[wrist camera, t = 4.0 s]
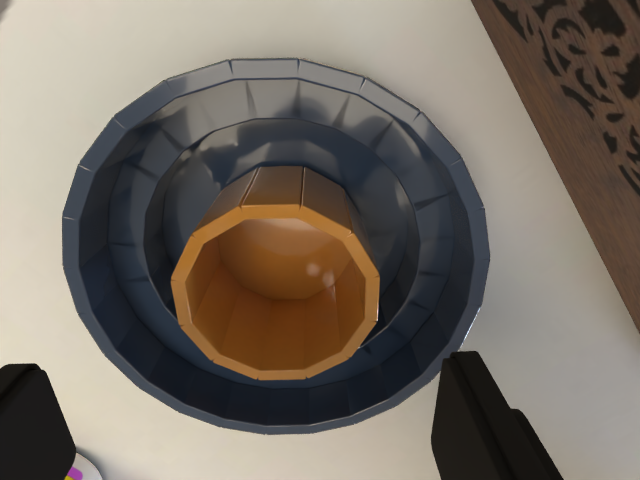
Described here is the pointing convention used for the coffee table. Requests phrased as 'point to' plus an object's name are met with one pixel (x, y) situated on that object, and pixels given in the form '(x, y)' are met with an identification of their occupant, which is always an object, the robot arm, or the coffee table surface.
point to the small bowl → (278, 276)
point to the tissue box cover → (583, 111)
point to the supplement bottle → (83, 470)
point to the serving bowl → (230, 165)
